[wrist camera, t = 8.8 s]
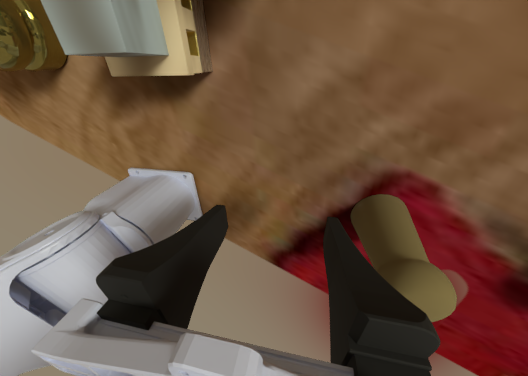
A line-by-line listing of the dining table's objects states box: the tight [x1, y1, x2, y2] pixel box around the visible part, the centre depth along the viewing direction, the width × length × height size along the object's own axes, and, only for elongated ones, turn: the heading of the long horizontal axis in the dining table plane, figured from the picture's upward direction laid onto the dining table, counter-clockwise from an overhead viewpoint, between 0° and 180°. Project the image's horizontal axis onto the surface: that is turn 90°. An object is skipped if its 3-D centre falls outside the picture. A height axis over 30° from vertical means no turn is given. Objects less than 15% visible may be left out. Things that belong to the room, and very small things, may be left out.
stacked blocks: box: [41, 0, 202, 77], centre depth 13 cm, size 7×7×6 cm
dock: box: [181, 0, 212, 72], centre depth 17 cm, size 7×6×2 cm
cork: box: [350, 194, 457, 322], centre depth 19 cm, size 6×6×11 cm
